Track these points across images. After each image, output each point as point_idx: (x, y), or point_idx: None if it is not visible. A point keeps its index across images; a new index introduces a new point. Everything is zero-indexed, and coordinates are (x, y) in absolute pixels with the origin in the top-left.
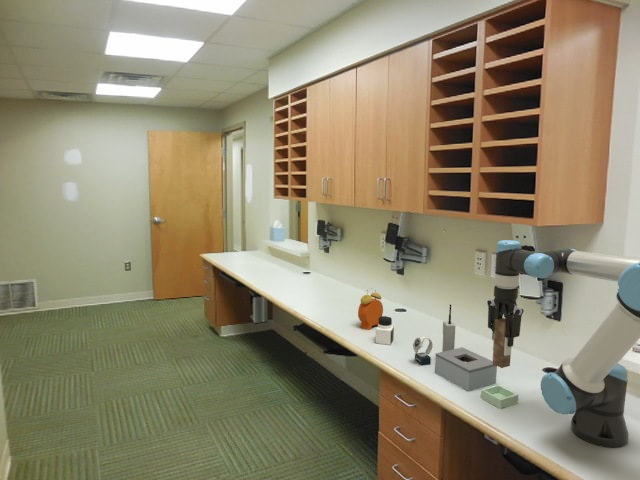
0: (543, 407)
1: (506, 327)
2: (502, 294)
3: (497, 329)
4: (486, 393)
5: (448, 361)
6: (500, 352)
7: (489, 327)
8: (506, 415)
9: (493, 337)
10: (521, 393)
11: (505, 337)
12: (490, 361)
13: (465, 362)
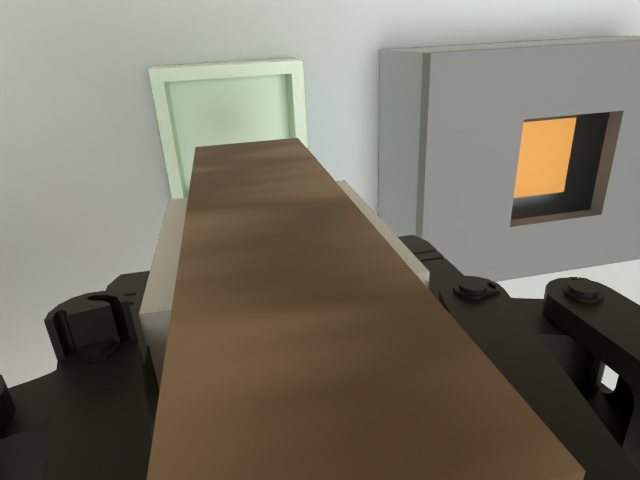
0: (101, 281)
1: (144, 474)
2: None
3: (361, 310)
4: (259, 62)
5: (606, 42)
6: (222, 182)
7: (564, 286)
8: (76, 42)
9: (414, 251)
10: None
11: (169, 306)
12: None
13: (555, 184)
